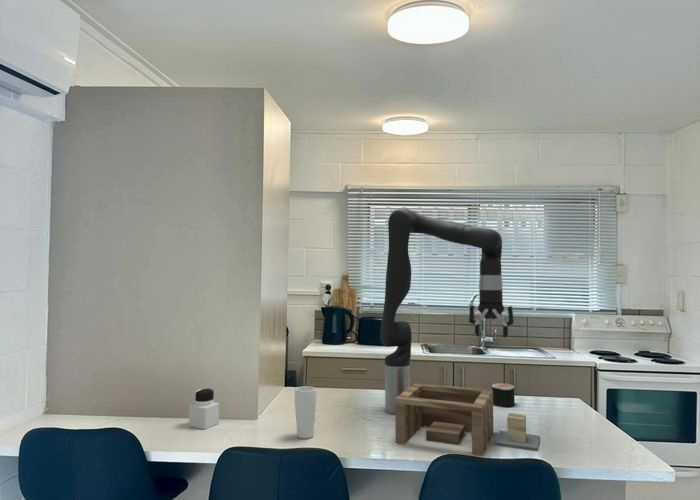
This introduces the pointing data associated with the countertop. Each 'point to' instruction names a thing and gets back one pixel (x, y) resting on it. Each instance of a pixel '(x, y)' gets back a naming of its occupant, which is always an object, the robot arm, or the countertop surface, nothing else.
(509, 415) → the maple block
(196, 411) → the medicine bottle
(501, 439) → the grey mat
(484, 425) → the frame
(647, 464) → the countertop surface
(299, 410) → the drinking glass
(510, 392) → the sushi
